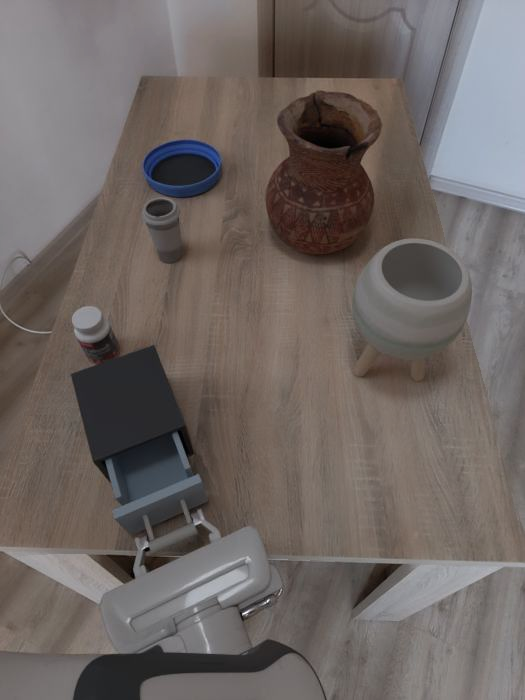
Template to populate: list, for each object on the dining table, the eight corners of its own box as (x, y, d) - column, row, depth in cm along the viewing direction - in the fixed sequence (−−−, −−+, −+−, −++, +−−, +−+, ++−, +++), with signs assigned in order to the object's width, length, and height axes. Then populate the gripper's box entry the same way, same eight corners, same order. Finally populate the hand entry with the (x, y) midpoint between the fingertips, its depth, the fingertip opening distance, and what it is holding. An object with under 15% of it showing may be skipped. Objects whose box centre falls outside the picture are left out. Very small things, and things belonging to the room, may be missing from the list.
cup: (150, 266, 95) (136, 219, 85) (155, 243, 98) (143, 195, 88) (186, 267, 94) (176, 219, 85) (190, 243, 98) (181, 195, 88)
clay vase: (383, 257, 96) (415, 142, 75) (284, 279, 92) (289, 165, 72) (342, 190, 108) (360, 75, 87) (253, 208, 104) (250, 93, 84)
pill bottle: (88, 369, 81) (68, 334, 73) (86, 343, 84) (66, 307, 76) (122, 361, 82) (106, 326, 74) (118, 335, 85) (103, 299, 77)
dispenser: (194, 453, 72) (185, 425, 64) (113, 487, 70) (92, 461, 61) (166, 378, 80) (154, 344, 72) (91, 406, 77) (70, 373, 69)
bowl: (231, 158, 115) (230, 144, 112) (208, 205, 105) (207, 191, 102) (161, 147, 118) (159, 134, 115) (133, 193, 108) (129, 179, 105)
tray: (221, 534, 65) (216, 518, 58) (140, 571, 62) (124, 559, 55) (178, 422, 74) (169, 396, 67) (106, 450, 72) (90, 426, 65)
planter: (450, 393, 78) (507, 306, 59) (356, 411, 76) (384, 327, 58) (413, 317, 87) (453, 221, 68) (328, 332, 85) (345, 237, 67)
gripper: (290, 593, 53) (242, 483, 60) (112, 685, 49) (82, 554, 56) (288, 599, 59) (244, 497, 66) (127, 683, 54) (98, 564, 61)
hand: (168, 524), depth 61 cm, fingers closed on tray, 6 cm apart
